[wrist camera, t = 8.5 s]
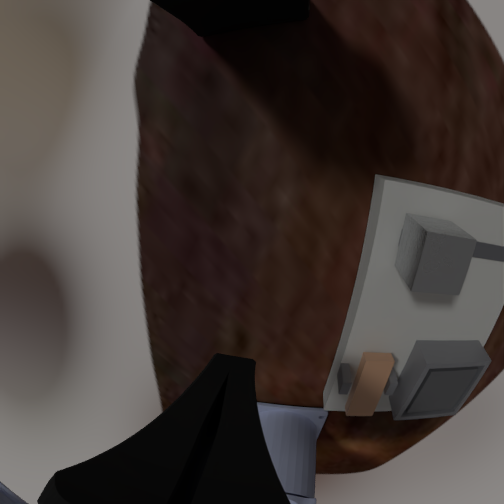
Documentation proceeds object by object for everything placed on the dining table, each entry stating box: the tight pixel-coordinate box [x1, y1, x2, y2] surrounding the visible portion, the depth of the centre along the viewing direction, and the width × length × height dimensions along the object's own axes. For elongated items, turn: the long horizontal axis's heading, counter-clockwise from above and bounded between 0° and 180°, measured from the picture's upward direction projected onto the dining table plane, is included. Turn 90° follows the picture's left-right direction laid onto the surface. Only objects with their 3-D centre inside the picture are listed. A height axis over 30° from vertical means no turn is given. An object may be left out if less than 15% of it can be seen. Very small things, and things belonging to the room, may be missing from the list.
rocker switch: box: [345, 352, 395, 416], centre depth 17 cm, size 5×2×1 cm, turn 177°
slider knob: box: [394, 213, 477, 295], centre depth 13 cm, size 3×3×3 cm
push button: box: [406, 366, 478, 413], centre depth 17 cm, size 4×4×2 cm
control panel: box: [323, 174, 504, 420], centre depth 17 cm, size 18×12×4 cm, turn 176°
